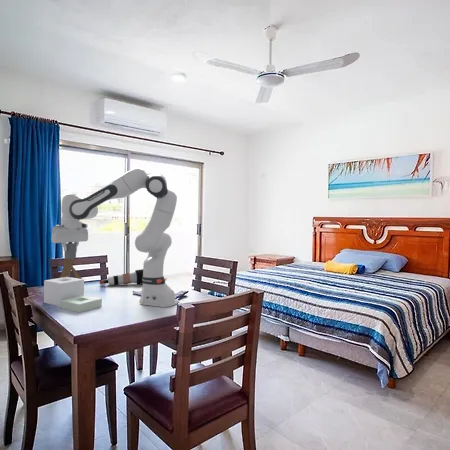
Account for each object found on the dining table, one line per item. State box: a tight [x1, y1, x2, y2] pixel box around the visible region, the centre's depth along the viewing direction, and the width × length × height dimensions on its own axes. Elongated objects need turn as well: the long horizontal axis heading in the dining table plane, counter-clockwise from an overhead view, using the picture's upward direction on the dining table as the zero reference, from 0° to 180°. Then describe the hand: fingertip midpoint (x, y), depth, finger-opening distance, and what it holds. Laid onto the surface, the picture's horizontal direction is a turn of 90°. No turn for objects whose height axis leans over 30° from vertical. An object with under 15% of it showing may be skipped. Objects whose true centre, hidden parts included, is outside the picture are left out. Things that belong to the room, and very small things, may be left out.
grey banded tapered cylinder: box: [99, 268, 143, 287], centre depth 233 cm, size 10×34×10 cm, turn 109°
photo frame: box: [59, 249, 83, 279], centre depth 215 cm, size 15×22×25 cm
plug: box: [64, 242, 77, 260], centre depth 181 cm, size 4×4×10 cm
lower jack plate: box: [59, 294, 103, 313], centre depth 175 cm, size 14×14×4 cm
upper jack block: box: [43, 276, 85, 307], centre depth 184 cm, size 14×14×12 cm
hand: (70, 250), depth 181 cm, fingers closed on plug, 4 cm apart
